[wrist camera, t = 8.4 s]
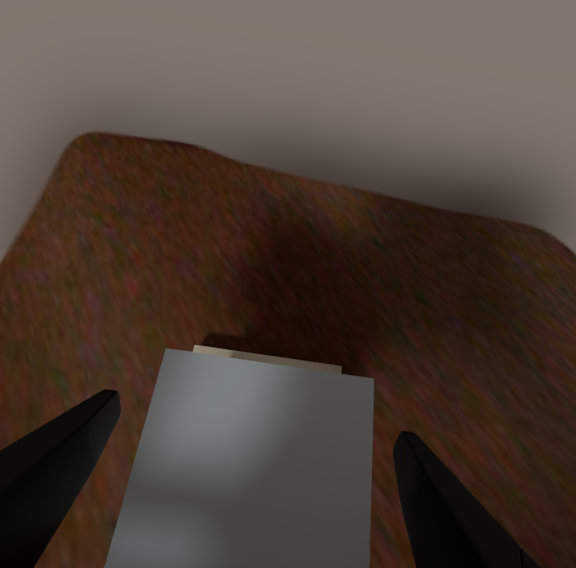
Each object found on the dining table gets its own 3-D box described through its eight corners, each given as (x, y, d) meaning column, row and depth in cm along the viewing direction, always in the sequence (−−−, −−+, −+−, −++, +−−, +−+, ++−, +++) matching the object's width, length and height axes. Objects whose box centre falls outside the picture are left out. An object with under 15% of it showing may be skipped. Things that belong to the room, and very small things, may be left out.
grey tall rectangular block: (303, 506, 16) (366, 667, 6) (191, 492, 15) (85, 635, 6) (314, 389, 18) (374, 378, 8) (216, 375, 17) (165, 348, 8)
